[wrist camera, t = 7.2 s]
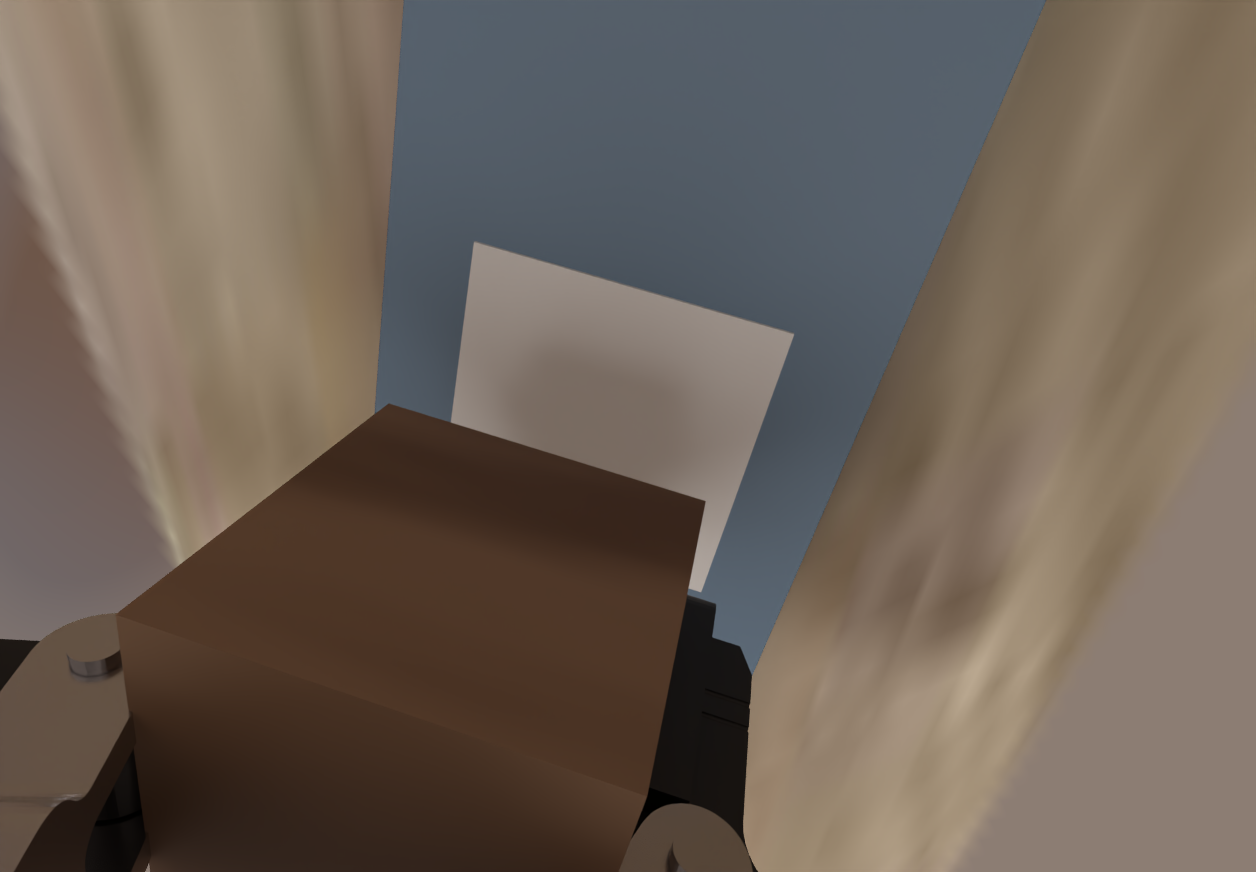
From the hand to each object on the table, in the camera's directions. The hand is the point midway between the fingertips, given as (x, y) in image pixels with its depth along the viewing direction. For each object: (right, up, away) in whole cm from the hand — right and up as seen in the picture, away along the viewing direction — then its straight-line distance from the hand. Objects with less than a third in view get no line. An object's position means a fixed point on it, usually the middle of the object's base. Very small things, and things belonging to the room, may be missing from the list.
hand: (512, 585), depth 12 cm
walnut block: (0, 0, 0) cm, 0 cm away
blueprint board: (+1, +3, +6) cm, 7 cm away
